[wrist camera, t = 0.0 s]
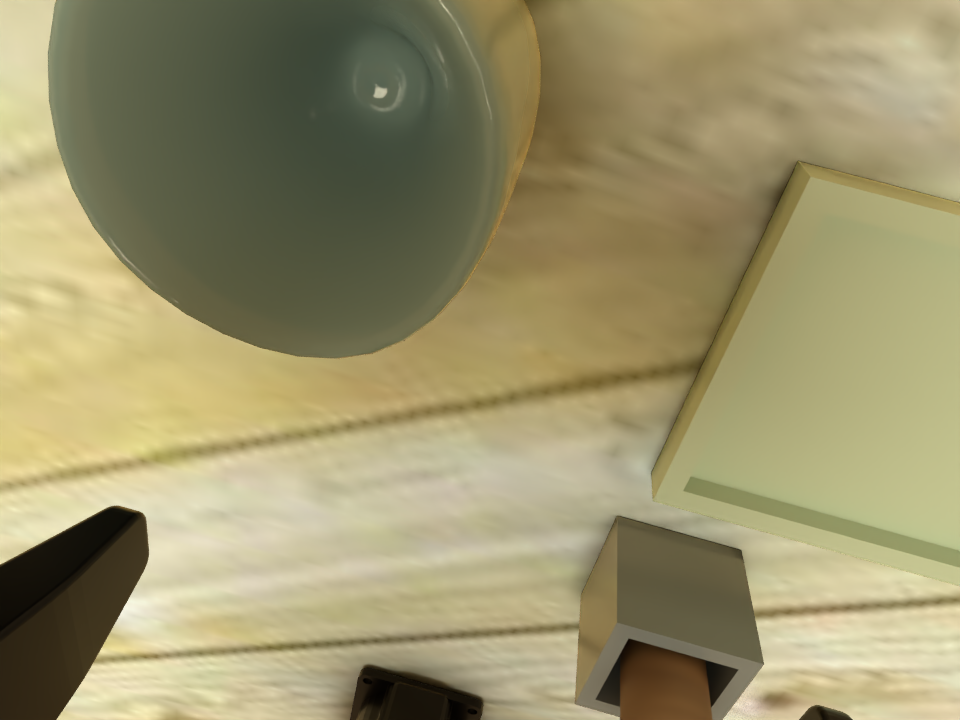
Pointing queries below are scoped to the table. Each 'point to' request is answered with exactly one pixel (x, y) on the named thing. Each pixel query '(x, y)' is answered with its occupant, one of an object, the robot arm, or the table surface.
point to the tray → (835, 381)
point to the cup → (296, 154)
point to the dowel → (662, 684)
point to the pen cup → (666, 612)
